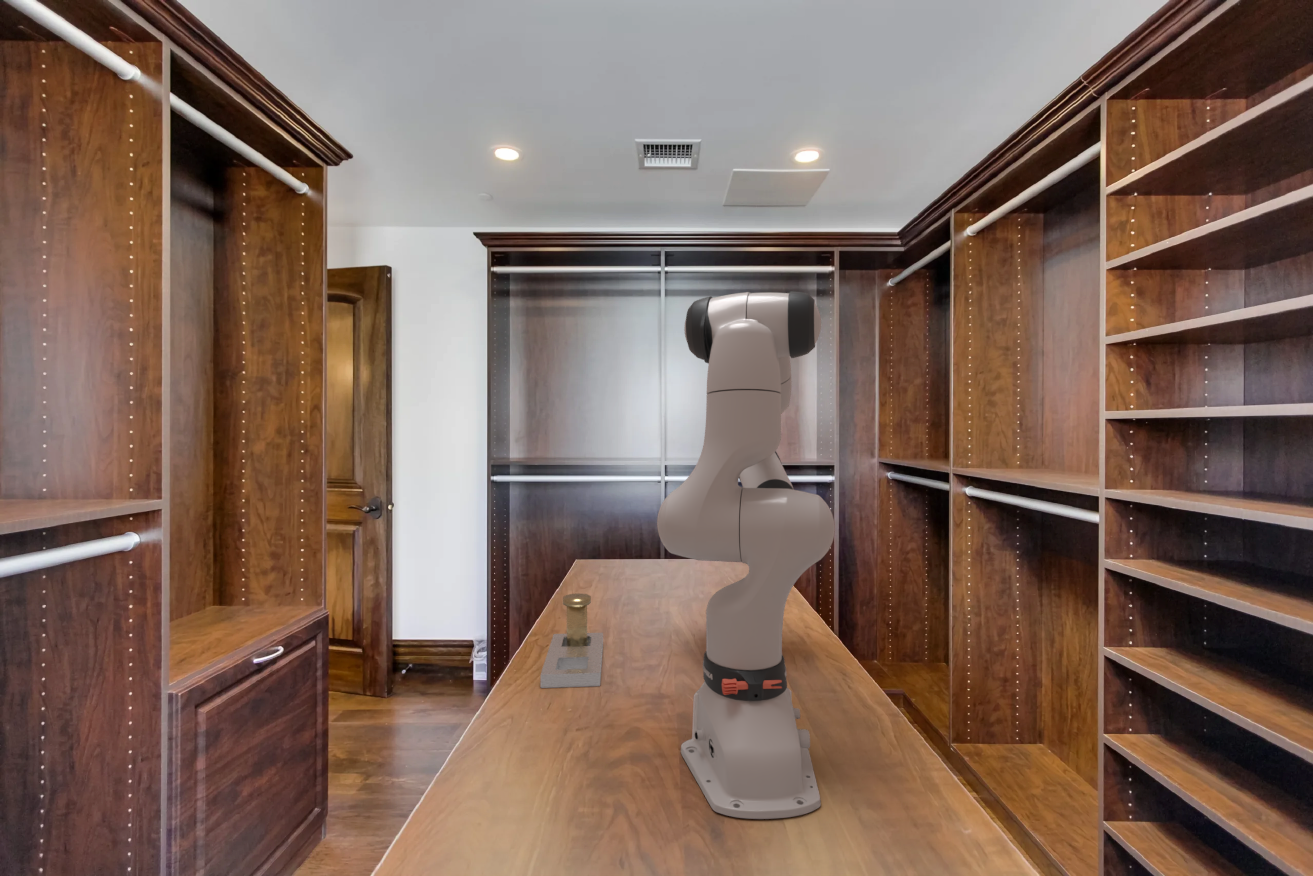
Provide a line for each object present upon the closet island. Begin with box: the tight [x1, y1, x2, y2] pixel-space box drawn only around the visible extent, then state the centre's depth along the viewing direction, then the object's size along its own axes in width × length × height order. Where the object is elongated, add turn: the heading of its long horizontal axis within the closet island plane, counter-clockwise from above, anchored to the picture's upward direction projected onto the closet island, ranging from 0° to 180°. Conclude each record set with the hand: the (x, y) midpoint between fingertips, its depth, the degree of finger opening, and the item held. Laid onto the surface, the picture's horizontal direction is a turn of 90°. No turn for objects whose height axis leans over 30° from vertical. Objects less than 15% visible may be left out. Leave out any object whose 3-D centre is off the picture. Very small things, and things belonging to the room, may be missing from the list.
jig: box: [540, 632, 604, 689], centre depth 119 cm, size 22×11×2 cm, turn 4°
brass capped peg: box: [562, 592, 592, 647], centre depth 125 cm, size 6×6×12 cm
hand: (662, 526), depth 123 cm, fingers open, 8 cm apart
